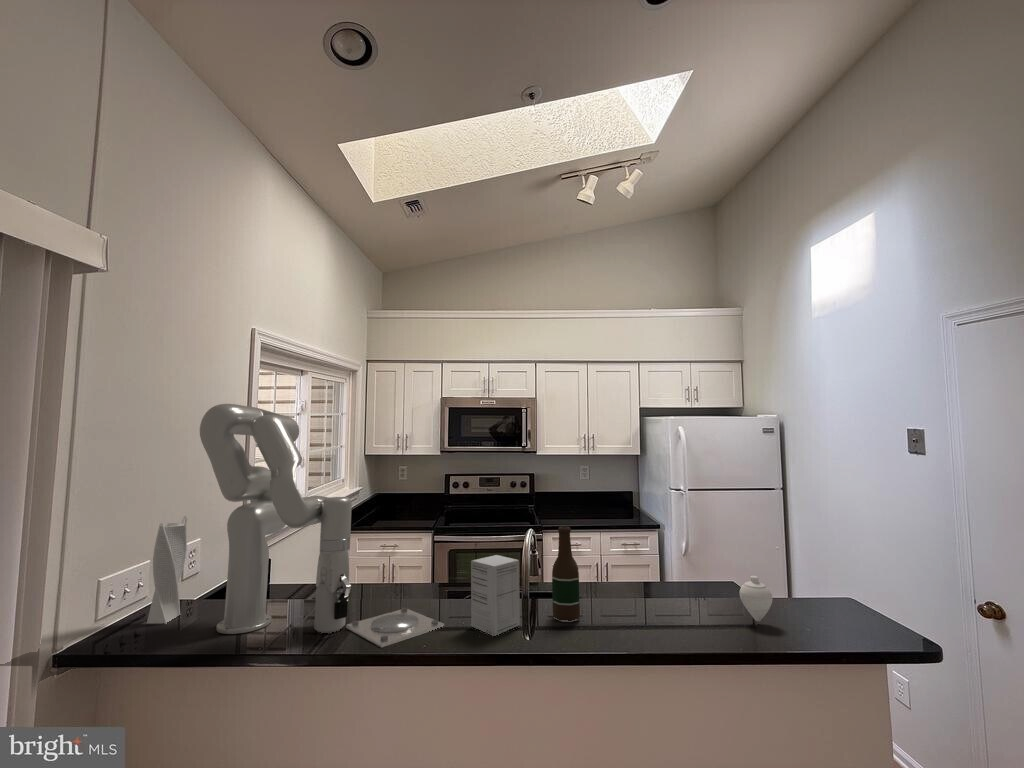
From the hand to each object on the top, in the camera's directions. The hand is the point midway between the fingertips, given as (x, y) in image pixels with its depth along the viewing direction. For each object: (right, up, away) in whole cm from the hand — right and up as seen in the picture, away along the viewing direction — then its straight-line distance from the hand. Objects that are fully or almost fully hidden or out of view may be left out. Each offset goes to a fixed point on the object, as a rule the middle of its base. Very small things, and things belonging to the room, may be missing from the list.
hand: (332, 613), depth 121 cm
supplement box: (+42, -4, -1) cm, 43 cm away
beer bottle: (+61, -4, +6) cm, 62 cm away
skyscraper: (-49, -6, +7) cm, 50 cm away
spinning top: (+110, -3, -1) cm, 110 cm away
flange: (+16, -4, 0) cm, 17 cm away
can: (0, -4, -1) cm, 4 cm away
